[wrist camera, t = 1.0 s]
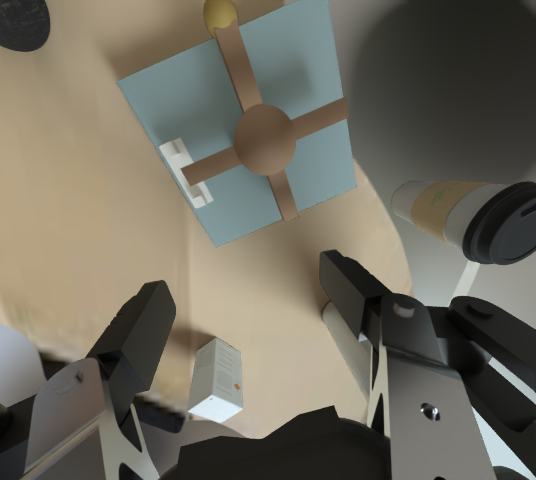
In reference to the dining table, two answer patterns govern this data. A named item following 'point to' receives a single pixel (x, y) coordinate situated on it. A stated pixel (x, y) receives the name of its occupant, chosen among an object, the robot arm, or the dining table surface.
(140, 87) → the stand
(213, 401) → the small box
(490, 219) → the coffee cup
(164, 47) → the dining table surface
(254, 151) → the capstan
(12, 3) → the travel mug
